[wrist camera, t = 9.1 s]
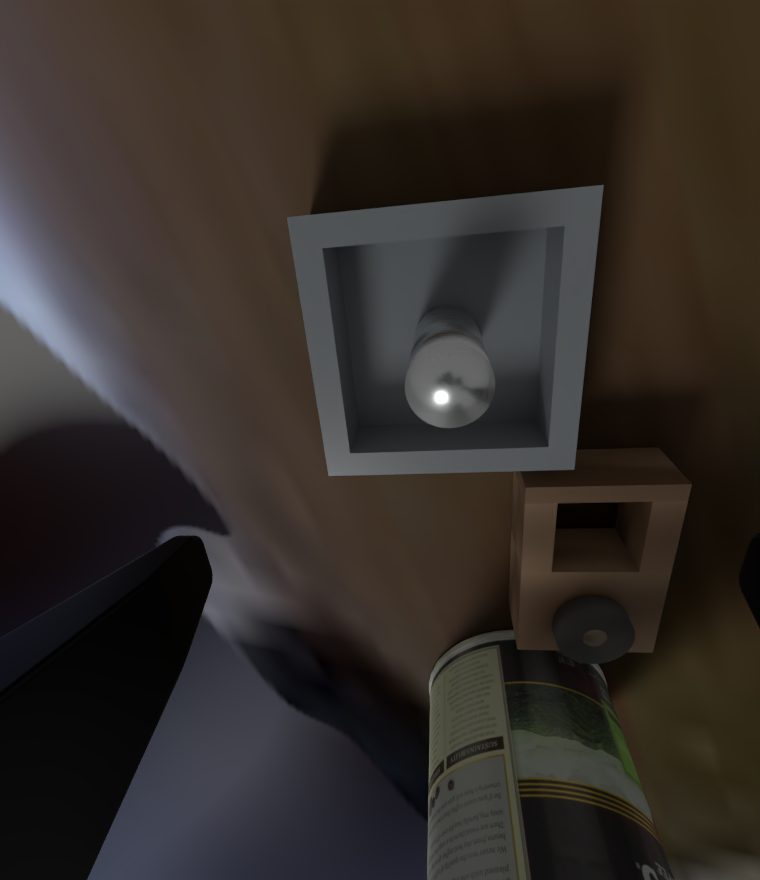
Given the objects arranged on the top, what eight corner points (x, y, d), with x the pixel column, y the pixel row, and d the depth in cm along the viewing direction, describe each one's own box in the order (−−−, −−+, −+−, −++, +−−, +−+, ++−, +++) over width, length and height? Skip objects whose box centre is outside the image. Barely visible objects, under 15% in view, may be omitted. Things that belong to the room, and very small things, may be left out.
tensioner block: (628, 603, 24) (662, 672, 21) (508, 601, 25) (520, 668, 21) (658, 447, 20) (705, 499, 17) (514, 451, 21) (530, 502, 17)
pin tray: (556, 435, 20) (574, 469, 18) (341, 442, 22) (328, 476, 19) (576, 187, 16) (603, 184, 14) (309, 215, 18) (287, 217, 15)
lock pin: (479, 366, 19) (494, 426, 13) (416, 370, 19) (407, 429, 14) (479, 302, 18) (495, 339, 12) (413, 307, 18) (400, 345, 13)
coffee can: (592, 613, 25) (754, 1034, 12) (615, 734, 29) (754, 1143, 16) (405, 641, 27) (379, 1016, 15) (451, 749, 31) (461, 1115, 19)
